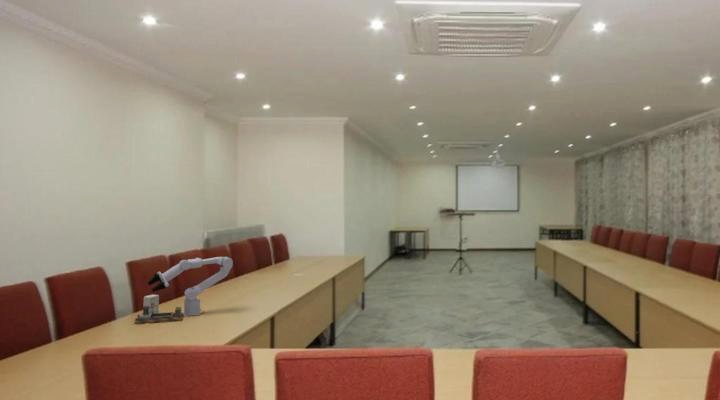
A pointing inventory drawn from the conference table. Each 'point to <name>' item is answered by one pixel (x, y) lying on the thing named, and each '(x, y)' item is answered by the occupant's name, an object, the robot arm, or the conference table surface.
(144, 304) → the ink box
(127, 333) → the conference table surface
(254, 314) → the conference table surface
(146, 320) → the board
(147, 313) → the carriage
